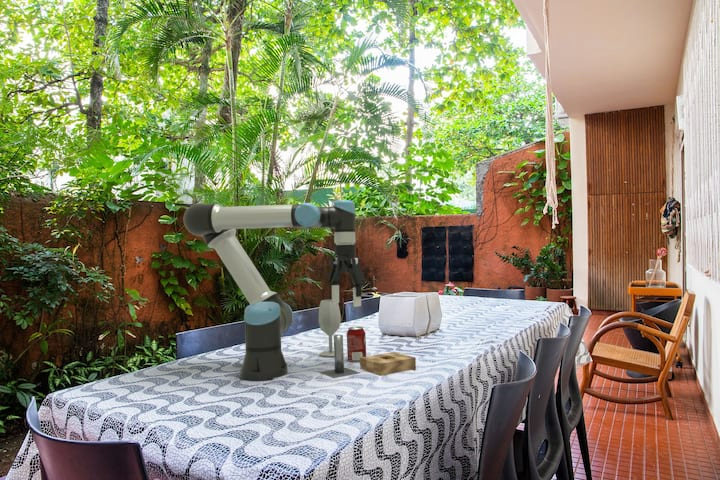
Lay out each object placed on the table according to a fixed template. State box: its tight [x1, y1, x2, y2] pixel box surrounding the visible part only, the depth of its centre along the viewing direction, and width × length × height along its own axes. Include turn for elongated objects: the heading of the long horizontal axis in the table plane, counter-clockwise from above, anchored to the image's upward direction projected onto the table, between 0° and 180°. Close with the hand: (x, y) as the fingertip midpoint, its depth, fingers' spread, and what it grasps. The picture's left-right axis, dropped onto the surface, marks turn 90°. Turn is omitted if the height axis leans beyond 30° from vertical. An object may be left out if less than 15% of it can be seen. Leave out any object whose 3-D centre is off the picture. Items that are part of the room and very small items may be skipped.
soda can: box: [346, 326, 367, 363], centre depth 181 cm, size 7×7×12 cm
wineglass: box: [318, 299, 342, 358], centre depth 194 cm, size 9×9×21 cm
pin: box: [333, 334, 345, 374], centre depth 164 cm, size 3×3×12 cm
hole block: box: [359, 351, 417, 376], centre depth 167 cm, size 14×12×4 cm
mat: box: [318, 367, 361, 379], centre depth 164 cm, size 10×10×1 cm
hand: (346, 304), depth 177 cm, fingers open, 13 cm apart
